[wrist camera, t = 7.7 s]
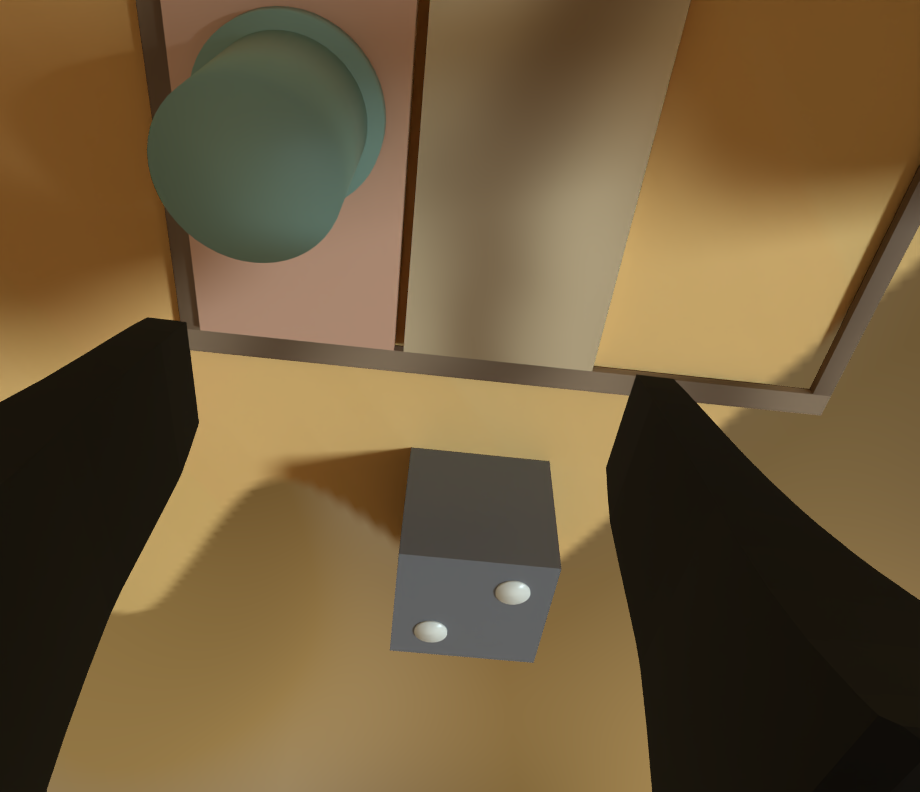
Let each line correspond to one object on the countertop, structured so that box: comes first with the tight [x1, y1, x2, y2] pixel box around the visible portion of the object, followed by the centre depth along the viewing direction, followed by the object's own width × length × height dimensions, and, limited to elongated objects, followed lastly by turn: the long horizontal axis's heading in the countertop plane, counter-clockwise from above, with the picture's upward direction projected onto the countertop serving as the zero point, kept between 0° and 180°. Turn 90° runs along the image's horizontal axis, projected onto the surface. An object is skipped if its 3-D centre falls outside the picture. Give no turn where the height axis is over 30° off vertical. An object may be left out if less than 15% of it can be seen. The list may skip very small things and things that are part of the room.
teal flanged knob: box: [147, 6, 386, 263], centre depth 17 cm, size 5×5×4 cm
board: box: [136, 0, 920, 415], centre depth 19 cm, size 21×16×1 cm
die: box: [390, 447, 561, 663], centre depth 26 cm, size 5×5×5 cm
